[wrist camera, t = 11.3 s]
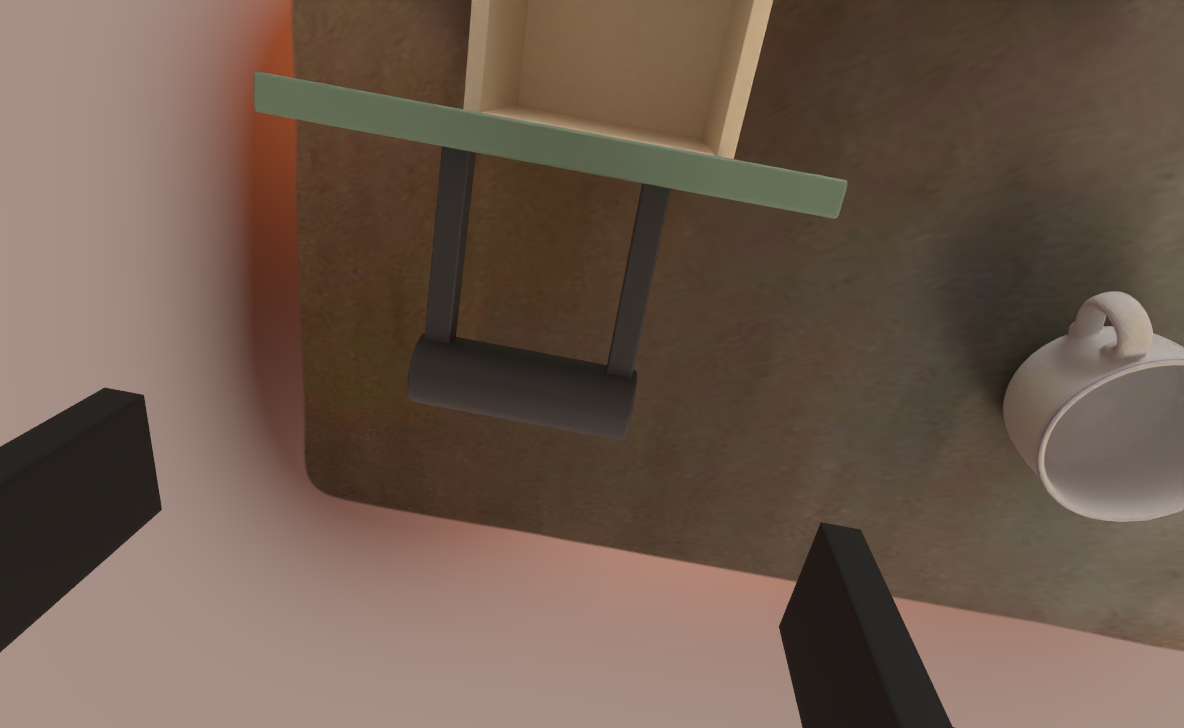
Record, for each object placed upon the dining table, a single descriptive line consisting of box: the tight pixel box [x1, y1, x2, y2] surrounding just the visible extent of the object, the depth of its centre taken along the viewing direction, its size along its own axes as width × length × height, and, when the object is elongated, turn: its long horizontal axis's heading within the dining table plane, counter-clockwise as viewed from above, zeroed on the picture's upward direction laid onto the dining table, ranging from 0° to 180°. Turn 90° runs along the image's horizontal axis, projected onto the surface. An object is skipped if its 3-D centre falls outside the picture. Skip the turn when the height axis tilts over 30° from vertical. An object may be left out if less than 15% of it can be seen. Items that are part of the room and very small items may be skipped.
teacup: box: [1003, 291, 1184, 522], centre depth 38 cm, size 14×11×8 cm
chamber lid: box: [254, 72, 848, 441], centre depth 22 cm, size 16×13×8 cm
